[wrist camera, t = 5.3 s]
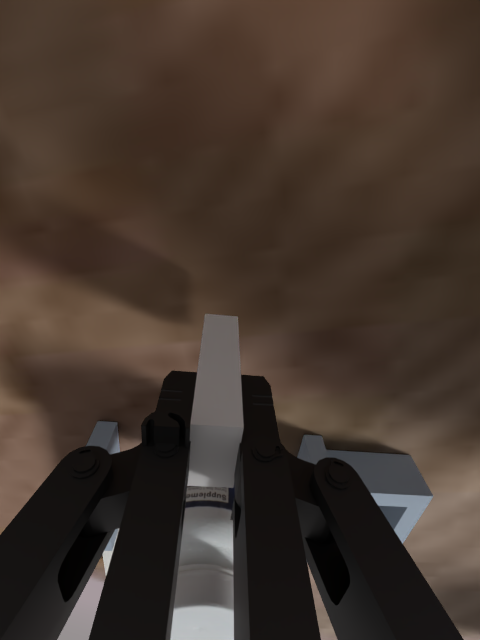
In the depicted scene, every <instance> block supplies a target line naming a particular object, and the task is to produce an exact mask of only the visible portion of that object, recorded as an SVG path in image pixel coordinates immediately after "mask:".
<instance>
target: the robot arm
mask: <svg viewBox="0 0 480 640" xmlns="http://www.w3.org/2000/svg"><path fill="white" fill-rule="evenodd" d="M141 430H142V443H141V444H140V445H138V446H136V447H134V448H133V449H130V450H126V451H123V452H118V453H114V454H109V453H108V451H107V450H106V449H104V448H102V447H100V446H85V447H81V448H78V449H76V450H74V451H72V452H70V453H69V454H68V455H67V456H66V457H65V458H63V459H62V460H61V462H60V463H59V464H58V465H57V466H56V468H55V469H54V470H53V471H52V473H51V474H50V475H49V476H48V477H47V479H46V480H45V481H44V482H43V484H42V485H41V486H40V487H39V488H38V490H37V491H36V492H35V493H34V495H33V496H32V497H31V498H30V499H29V501H28V502H27V503H26V504H25V505H24V507H23V508H22V509H21V510H20V512H19V513H18V514H17V515H16V516H15V518H14V519H13V520H12V521H11V523H10V524H9V525H8V526H7V527H6V529H5V530H4V531H3V532H2V534H1V535H0V640H57V639H58V637H59V635H60V633H61V631H62V629H63V627H64V625H65V624H66V622H67V620H68V618H69V616H70V614H71V612H72V610H73V608H74V607H75V605H76V603H77V601H78V599H79V597H80V595H81V593H82V592H83V590H84V588H85V586H86V584H87V582H88V580H89V578H90V576H91V575H92V573H93V571H94V569H95V567H96V565H97V563H98V561H99V559H100V558H101V556H102V554H103V552H104V550H105V548H106V546H107V544H108V542H109V541H110V539H111V537H112V535H113V533H114V531H115V529H118V528H119V532H118V535H117V539H116V543H115V546H114V550H113V553H112V557H111V561H110V564H109V568H108V572H107V575H106V579H105V582H104V587H103V590H102V593H101V597H100V601H99V604H98V608H97V611H96V615H95V619H94V622H93V626H92V630H91V633H90V637H89V640H170V638H171V629H172V620H173V611H174V603H175V594H176V585H177V576H178V567H179V559H180V550H181V541H182V532H183V524H184V515H185V506H186V493H187V486H204V487H226V488H233V487H234V485H235V496H234V502H233V507H232V513H231V519H230V520H233V586H234V640H321V638H320V632H319V627H318V621H317V616H316V610H315V605H314V599H313V594H312V588H311V583H310V577H309V572H308V566H307V562H308V565H309V567H310V570H311V573H312V575H313V578H314V580H315V583H316V585H317V588H318V590H319V593H320V595H321V598H322V601H323V603H324V606H325V608H326V611H327V613H328V616H329V618H330V621H331V624H332V626H333V629H334V631H335V634H336V636H337V639H338V640H463V638H462V636H461V635H460V633H459V632H458V630H457V629H456V627H455V625H454V624H453V622H452V621H451V619H450V618H449V616H448V614H447V613H446V611H445V610H444V608H443V607H442V605H441V603H440V602H439V600H438V599H437V597H436V595H435V594H434V592H433V591H432V589H431V588H430V586H429V584H428V583H427V581H426V580H425V578H424V577H423V575H422V573H421V572H420V570H419V569H418V567H417V566H416V564H415V562H414V561H413V559H412V558H411V556H410V555H409V553H408V551H407V550H406V548H405V547H404V545H403V544H402V542H401V540H400V539H399V537H398V536H397V534H396V533H395V531H394V529H393V528H392V526H391V525H390V523H389V522H388V520H387V518H386V517H385V515H384V514H383V512H382V511H381V509H380V507H379V506H378V504H377V503H376V501H375V500H374V498H373V496H372V495H371V493H370V492H369V490H368V489H367V487H366V485H365V484H364V482H363V481H362V479H361V478H360V476H359V474H358V473H357V472H356V471H355V470H354V468H353V467H352V466H351V465H349V464H348V463H346V462H345V461H343V460H340V459H337V458H332V457H326V458H323V459H321V460H319V461H318V462H317V464H313V463H310V462H307V461H304V460H302V459H299V458H297V457H295V456H293V455H292V454H290V453H289V452H288V451H287V450H286V449H285V447H284V446H283V445H282V444H281V442H280V439H279V434H278V428H277V422H276V416H275V410H274V406H273V398H272V392H271V386H270V385H269V383H268V382H267V380H266V379H265V378H264V377H263V376H250V375H241V367H240V347H239V328H238V316H226V315H215V314H205V318H204V325H203V333H202V340H201V348H200V355H199V363H198V370H197V372H183V371H171V372H170V373H169V374H168V375H167V376H166V378H165V379H164V381H163V385H162V389H161V393H160V396H159V400H158V404H157V408H156V411H155V412H153V413H151V414H150V415H149V416H148V417H146V418H145V420H144V421H143V423H142V425H141ZM306 560H307V561H306Z"/></svg>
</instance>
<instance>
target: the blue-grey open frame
mask: <svg viewBox="0 0 480 640" xmlns="http://www.w3.org/2000/svg"><path fill="white" fill-rule="evenodd" d="M86 446H100V447H102V448H104V449H106V450H107V451H108V453H109V454H114V453H118V452H120V447H119V436H118V424H117V422H107V421H97V424H96V426H95V428H94V430H93V432H92V434H91V436H90V438H89V440H88V443H87V445H86ZM326 457H332V458H337V459H340V460H343V461H345V462H346V463H348V464H349V465H351V466H352V467H353V468H354V470H355V471H356V472H357V473H358V474H359V476H360V478H361V479H362V481H363V482H364V484H365V485H366V487H367V489H368V490H369V492H370V493H371V495H372V496H373V498H374V500H375V501H376V503H377V504H378V506H379V507H380V509H381V511H382V512H383V514H384V515H385V517H386V518H387V520H388V522H389V523H390V525H391V526H392V528H393V529H394V531H395V533H396V534H397V536H398V537H399V539H400V540H401V542H402V544H403V542H404V541H405V539H406V538H407V536H408V535H409V533H410V532H411V530H412V529H413V527H414V525H415V524H416V522H417V521H418V519H419V518H420V516H421V515H422V513H423V512H424V510H425V509H426V507H427V505H428V504H429V502H430V501H431V499H432V498H433V495H432V493H431V491H430V489H429V488H428V486H427V484H426V482H425V480H424V479H423V477H422V475H421V473H420V472H419V470H418V468H417V466H416V464H415V463H414V461H413V459H412V457H411V456H410V455H402V454H386V453H370V452H354V451H338V450H326V448H325V445H324V441H323V438H322V436H318V435H304V436H303V440H302V443H301V446H300V450H299V453H298V456H297V458H299V459H302V460H304V461H307V462H310V463H313V464H317V462H318V461H319V460H321V459H323V458H326ZM118 529H119V528H118ZM118 529H115V531H114V533H113V535H112V537H111V539H110V541H109V542H108V544H107V546H106V548H105V550H104V551H112V550H113V547H114V543H115V540H116V536H117V533H118ZM306 561H307V560H306Z"/></svg>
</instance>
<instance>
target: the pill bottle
mask: <svg viewBox="0 0 480 640" xmlns="http://www.w3.org/2000/svg"><path fill="white" fill-rule="evenodd" d="M234 496H235V485H234V487H233V488H226V487H204V486H187V493H186V506H185V515H184V524H183V532H182V541H181V550H180V559H179V567H178V576H177V585H176V594H175V603H174V611H173V620H172V629H171V638H170V640H234V586H233V520H230V519H231V513H232V507H233V502H234Z"/></svg>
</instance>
